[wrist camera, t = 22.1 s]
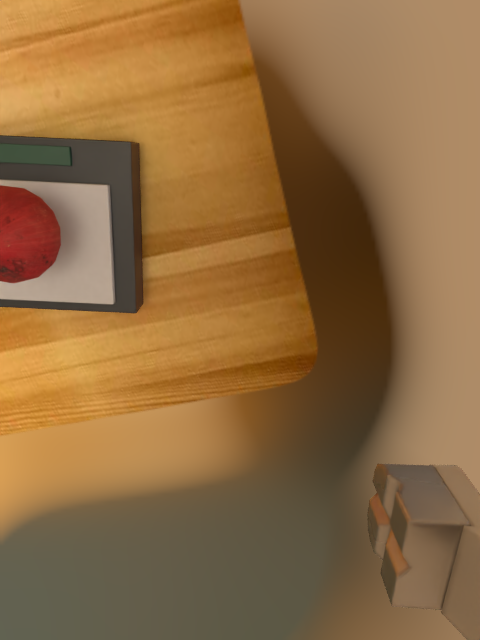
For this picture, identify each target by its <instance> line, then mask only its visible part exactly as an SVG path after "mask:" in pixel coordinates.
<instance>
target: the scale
mask: <svg viewBox="0 0 480 640" xmlns="http://www.w3.org/2000/svg"><path fill="white" fill-rule="evenodd" d="M0 185H1V186H10V187H19V188H25V189H26V190H28V191H30V192H32V193H33V194H35V195H37V196H39V197H41V198H42V199H43V201H44V202H45V203H46V204H47V205H48V206H49V207H50V208H51V209H52V210H53V212H54V214H55V216H56V219H57V221H58V224H59V226H60V232H61V246H60V249H59V252H58V255H57V258H56V261H55V262H54V264H53V265H52V266H51V267H50V268H48V269H47V270H46V271H45V272H44V273H43V274H42V275H41V276H39V277H38V278H34V279H30V280H26V281H22V282H18V283H8V282H2V281H0V307H16V308H36V309H57V310H78V311H99V312H120V313H137V311H138V310H139V309H140V307H141V306H142V305H143V274H142V235H141V196H140V157H139V143H134V142H125V141H105V140H84V139H64V138H43V137H23V136H2V135H0Z"/></svg>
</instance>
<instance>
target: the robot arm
mask: <svg viewBox="0 0 480 640" xmlns="http://www.w3.org/2000/svg"><path fill="white" fill-rule="evenodd" d="M373 483H374V486H375V488H376V491H377V494H376V495H374V496H373V497H372V498H371V499H370V501H369V508H368V531H369V537H370V542H371V545H372V548H373V551H374V553H375V554H376V555H377V556H379V557H380V558H381V559H382V560H383V563H382V568H381V576H382V578H383V581H384V584H385V587H386V590H387V593H388V596H389V599H390V602H391V605H392V606H395V607H408V608H422V609H435V610H442V611H441V613H442V614H443V615H444V616H445V617H446V618H447V619H448V620H449V621H450V622H451V623H452V624H453V626H454V627H455V628H456V629H457V630H458V631H459V632H460V633H461V634H462V635H463V636H464V637H465V638H466V639H467V640H480V494H479V492H478V491H477V490H476V488H475V487H474V485H473V484H472V483H471V481H470V480H469V479H468V477H467V476H466V474H465V473H464V472H463V470H462V469H461V468H460V467H458V466H456V465H429V466H426V465H400V464H397V465H396V464H377V467H376V469H375V472H374V477H373Z"/></svg>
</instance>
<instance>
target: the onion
mask: <svg viewBox="0 0 480 640" xmlns="http://www.w3.org/2000/svg"><path fill="white" fill-rule="evenodd" d="M60 246H61V232H60V226H59V224H58V221H57V219H56V216H55V214H54V212H53V210H52V209H51V208H50V207H49V206H48V205H47V204H46V203H45V202H44V201H43V199H42V198H41V197H39V196H37V195H35V194H33V193H32V192H30V191H28V190H26V189H25V188H19V187H10V186H1V185H0V281H2V282H8V283H18V282H22V281H26V280H30V279H34V278H38V277H39V276H41V275H42V274H43V273H44V272H45V271H46V270H47V269H48V268H50V267H51V266H52V265H53V264H54V262H55V261H56V258H57V255H58V252H59V249H60Z"/></svg>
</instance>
